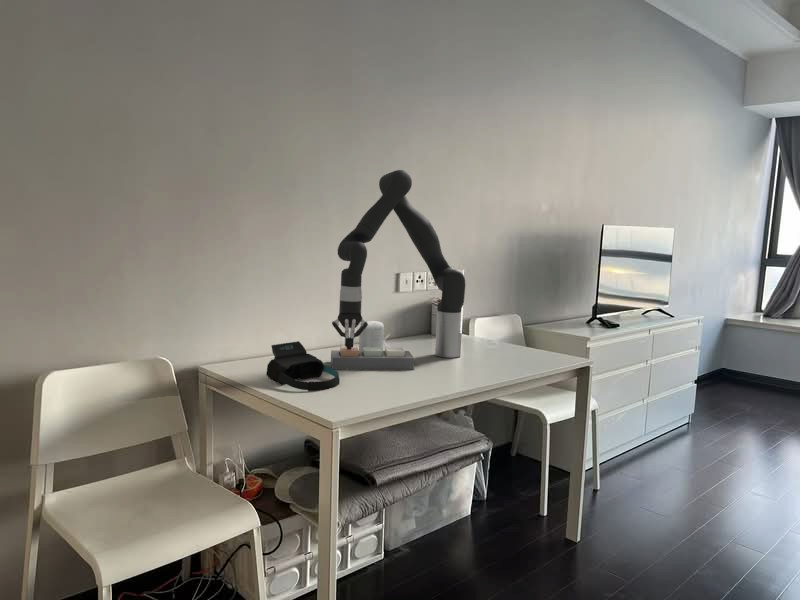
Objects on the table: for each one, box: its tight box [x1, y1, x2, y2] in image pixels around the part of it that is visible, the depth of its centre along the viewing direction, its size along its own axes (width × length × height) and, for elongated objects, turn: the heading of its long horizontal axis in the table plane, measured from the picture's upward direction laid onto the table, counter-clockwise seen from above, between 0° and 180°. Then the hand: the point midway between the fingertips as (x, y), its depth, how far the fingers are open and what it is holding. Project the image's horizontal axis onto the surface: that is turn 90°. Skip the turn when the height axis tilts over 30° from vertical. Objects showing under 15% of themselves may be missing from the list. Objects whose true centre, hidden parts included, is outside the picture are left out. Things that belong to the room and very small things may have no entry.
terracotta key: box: [339, 346, 359, 356], centre depth 218 cm, size 6×6×3 cm
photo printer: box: [358, 320, 385, 351], centre depth 240 cm, size 10×4×12 cm, turn 134°
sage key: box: [363, 347, 382, 356], centre depth 220 cm, size 6×6×3 cm
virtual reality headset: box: [265, 340, 340, 392], centre depth 194 cm, size 19×22×10 cm
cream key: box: [384, 347, 406, 357], centre depth 221 cm, size 6×6×3 cm
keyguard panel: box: [330, 349, 415, 371], centre depth 220 cm, size 28×12×4 cm, turn 99°
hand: (349, 348), depth 218 cm, fingers closed
